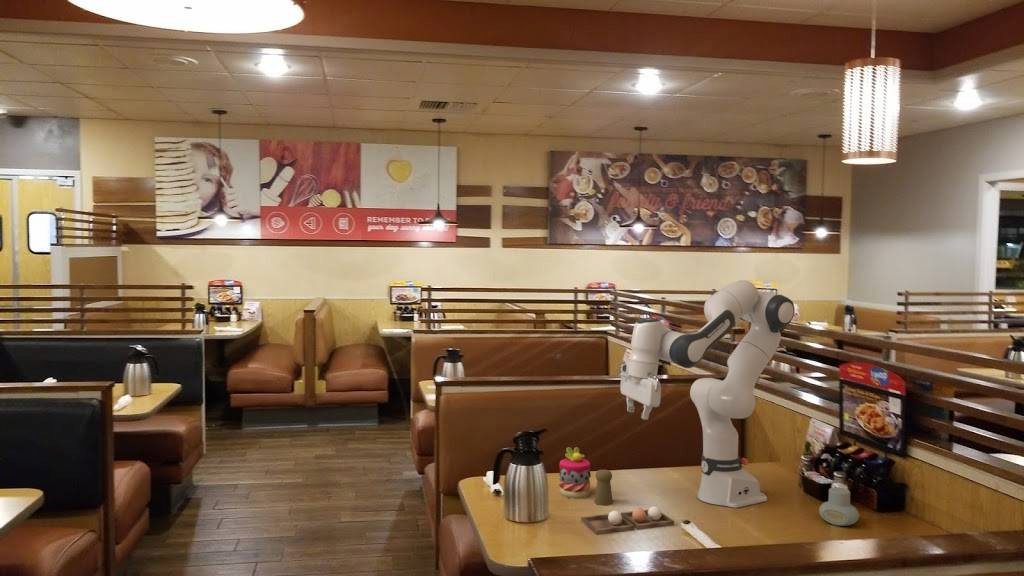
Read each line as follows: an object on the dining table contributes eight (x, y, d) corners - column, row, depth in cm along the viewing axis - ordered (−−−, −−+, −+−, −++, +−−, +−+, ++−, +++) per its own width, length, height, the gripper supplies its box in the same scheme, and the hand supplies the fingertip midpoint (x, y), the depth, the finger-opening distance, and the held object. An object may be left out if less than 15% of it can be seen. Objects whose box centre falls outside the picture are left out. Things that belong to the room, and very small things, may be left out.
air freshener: (815, 522, 218) (816, 489, 217) (823, 514, 224) (824, 483, 224) (854, 531, 211) (855, 497, 210) (861, 523, 217) (862, 490, 217)
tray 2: (655, 514, 223) (655, 508, 223) (674, 527, 213) (674, 521, 213) (620, 518, 220) (620, 512, 220) (637, 531, 209) (637, 525, 209)
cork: (612, 508, 229) (612, 473, 228) (593, 506, 230) (593, 472, 229) (613, 501, 234) (614, 468, 234) (594, 500, 236) (595, 467, 235)
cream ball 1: (618, 521, 215) (618, 508, 215) (624, 526, 212) (624, 512, 212) (605, 522, 214) (605, 509, 214) (611, 527, 210) (611, 514, 210)
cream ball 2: (657, 516, 219) (657, 503, 219) (663, 521, 216) (664, 508, 216) (645, 518, 218) (645, 505, 218) (651, 522, 214) (652, 509, 214)
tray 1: (617, 518, 219) (617, 512, 219) (634, 532, 209) (634, 525, 209) (580, 522, 216) (580, 517, 216) (596, 536, 205) (596, 530, 205)
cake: (596, 495, 241) (597, 450, 240) (572, 501, 235) (572, 455, 234) (576, 487, 249) (577, 444, 249) (552, 492, 243) (552, 448, 243)
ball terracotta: (641, 518, 218) (642, 505, 218) (648, 523, 214) (648, 510, 214) (629, 520, 217) (630, 506, 216) (636, 524, 213) (636, 511, 213)
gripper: (668, 377, 212) (663, 424, 213) (637, 365, 232) (632, 408, 232) (649, 376, 210) (643, 423, 211) (619, 364, 230) (614, 407, 230)
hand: (637, 415), depth 222 cm, fingers open, 8 cm apart
